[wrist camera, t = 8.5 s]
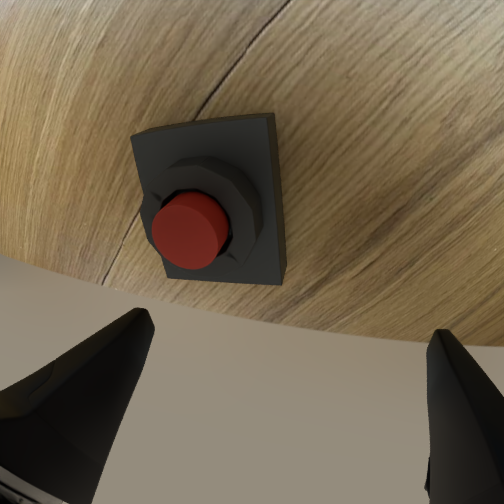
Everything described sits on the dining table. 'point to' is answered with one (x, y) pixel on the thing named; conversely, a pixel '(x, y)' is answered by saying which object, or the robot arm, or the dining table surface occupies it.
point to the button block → (220, 190)
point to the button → (190, 230)
